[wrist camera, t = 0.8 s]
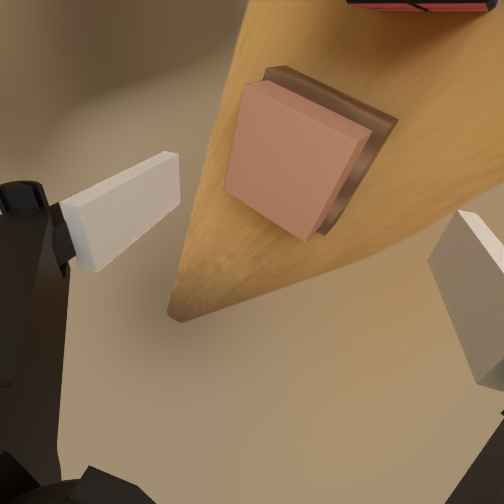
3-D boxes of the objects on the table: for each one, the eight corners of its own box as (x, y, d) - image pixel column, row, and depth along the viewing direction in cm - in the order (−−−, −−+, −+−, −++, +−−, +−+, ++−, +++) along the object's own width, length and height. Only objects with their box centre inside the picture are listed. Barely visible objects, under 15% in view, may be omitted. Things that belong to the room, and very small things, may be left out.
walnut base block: (286, 65, 37) (266, 67, 34) (399, 118, 33) (388, 127, 30) (255, 171, 48) (238, 181, 45) (337, 221, 44) (324, 235, 41)
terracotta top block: (268, 79, 34) (244, 84, 31) (372, 130, 31) (358, 142, 27) (243, 178, 44) (223, 190, 41) (320, 226, 41) (305, 242, 37)
